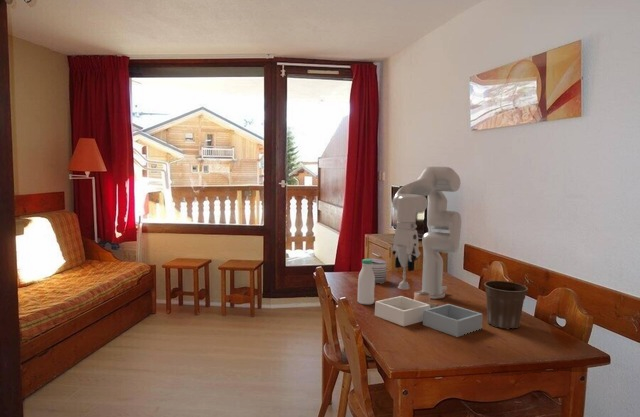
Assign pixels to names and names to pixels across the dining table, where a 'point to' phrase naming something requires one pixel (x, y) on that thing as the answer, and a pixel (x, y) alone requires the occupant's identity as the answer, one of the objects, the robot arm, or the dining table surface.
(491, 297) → the plant pot
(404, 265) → the chalice
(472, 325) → the frame
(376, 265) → the can
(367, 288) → the milk bottle
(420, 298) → the terracotta pot
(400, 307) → the frame
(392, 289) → the dining table surface
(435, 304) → the walnut block
